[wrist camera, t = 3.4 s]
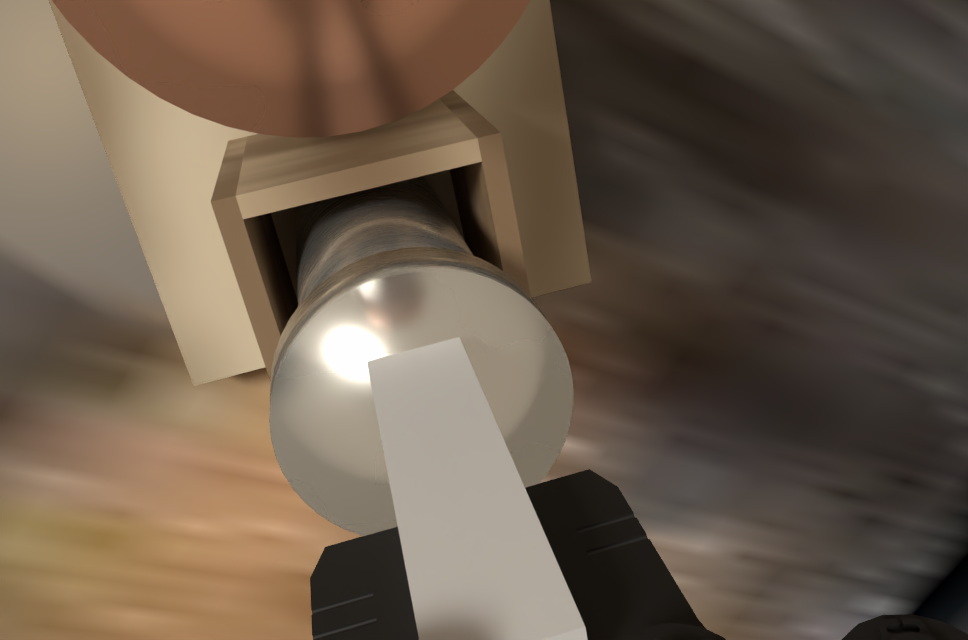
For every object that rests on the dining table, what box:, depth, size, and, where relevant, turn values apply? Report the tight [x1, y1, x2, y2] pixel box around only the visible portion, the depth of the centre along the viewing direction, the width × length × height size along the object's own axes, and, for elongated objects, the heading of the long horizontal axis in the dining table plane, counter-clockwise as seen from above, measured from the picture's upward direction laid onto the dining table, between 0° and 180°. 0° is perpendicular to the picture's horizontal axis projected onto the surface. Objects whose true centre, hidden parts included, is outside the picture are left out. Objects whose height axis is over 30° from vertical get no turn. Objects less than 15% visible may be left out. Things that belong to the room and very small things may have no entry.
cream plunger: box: [269, 176, 574, 536], centre depth 19 cm, size 5×5×10 cm
